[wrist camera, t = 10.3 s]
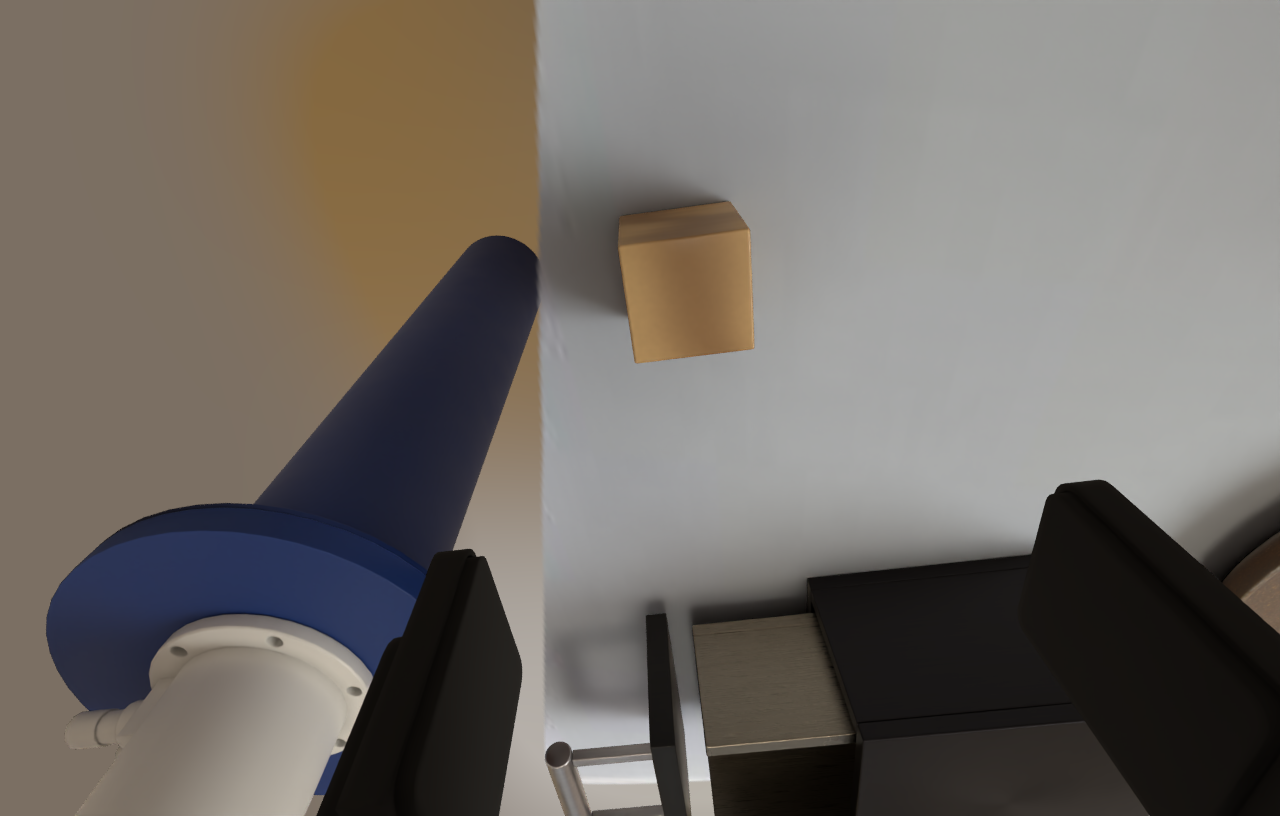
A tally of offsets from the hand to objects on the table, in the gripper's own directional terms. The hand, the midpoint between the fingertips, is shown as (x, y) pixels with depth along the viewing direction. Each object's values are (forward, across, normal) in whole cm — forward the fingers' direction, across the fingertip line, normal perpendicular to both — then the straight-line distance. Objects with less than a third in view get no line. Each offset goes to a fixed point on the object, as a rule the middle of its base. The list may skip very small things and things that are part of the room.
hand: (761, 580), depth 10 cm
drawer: (+17, 0, +26) cm, 31 cm away
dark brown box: (+18, -13, +26) cm, 34 cm away
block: (+18, 0, 0) cm, 18 cm away
